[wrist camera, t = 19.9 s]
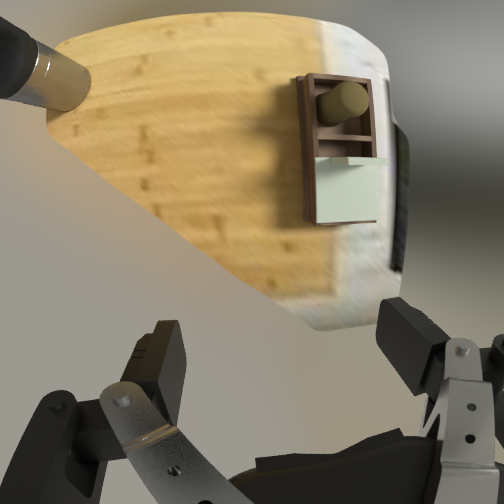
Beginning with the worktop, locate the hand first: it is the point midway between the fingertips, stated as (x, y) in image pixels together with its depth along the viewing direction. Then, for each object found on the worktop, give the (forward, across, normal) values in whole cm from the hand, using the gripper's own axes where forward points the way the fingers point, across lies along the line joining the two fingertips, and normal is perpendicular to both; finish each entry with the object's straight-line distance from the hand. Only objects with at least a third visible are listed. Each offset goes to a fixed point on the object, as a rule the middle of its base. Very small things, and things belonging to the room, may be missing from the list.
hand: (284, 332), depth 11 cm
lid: (+33, -16, -2) cm, 37 cm away
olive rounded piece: (+37, -15, -15) cm, 43 cm away
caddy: (+38, -16, -9) cm, 42 cm away
